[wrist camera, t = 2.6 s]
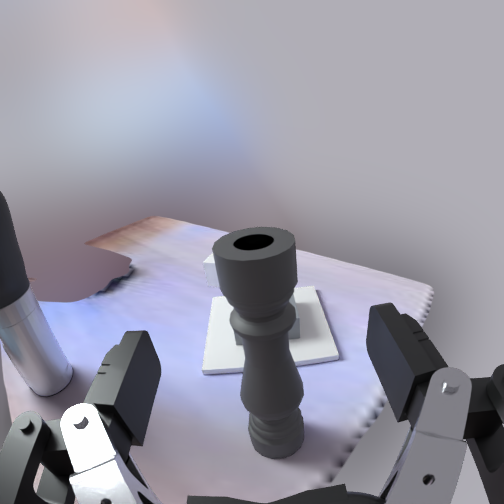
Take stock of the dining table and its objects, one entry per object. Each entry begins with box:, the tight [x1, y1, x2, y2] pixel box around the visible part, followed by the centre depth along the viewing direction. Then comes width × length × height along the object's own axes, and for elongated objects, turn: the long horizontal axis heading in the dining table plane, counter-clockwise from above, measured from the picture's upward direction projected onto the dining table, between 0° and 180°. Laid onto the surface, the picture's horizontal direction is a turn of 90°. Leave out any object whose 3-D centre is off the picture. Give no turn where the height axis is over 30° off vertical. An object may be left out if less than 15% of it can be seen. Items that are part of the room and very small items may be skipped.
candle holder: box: [212, 227, 304, 459], centre depth 26 cm, size 6×6×25 cm
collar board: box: [202, 286, 339, 375], centre depth 50 cm, size 20×20×5 cm
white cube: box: [203, 253, 220, 288], centre depth 67 cm, size 6×6×6 cm
